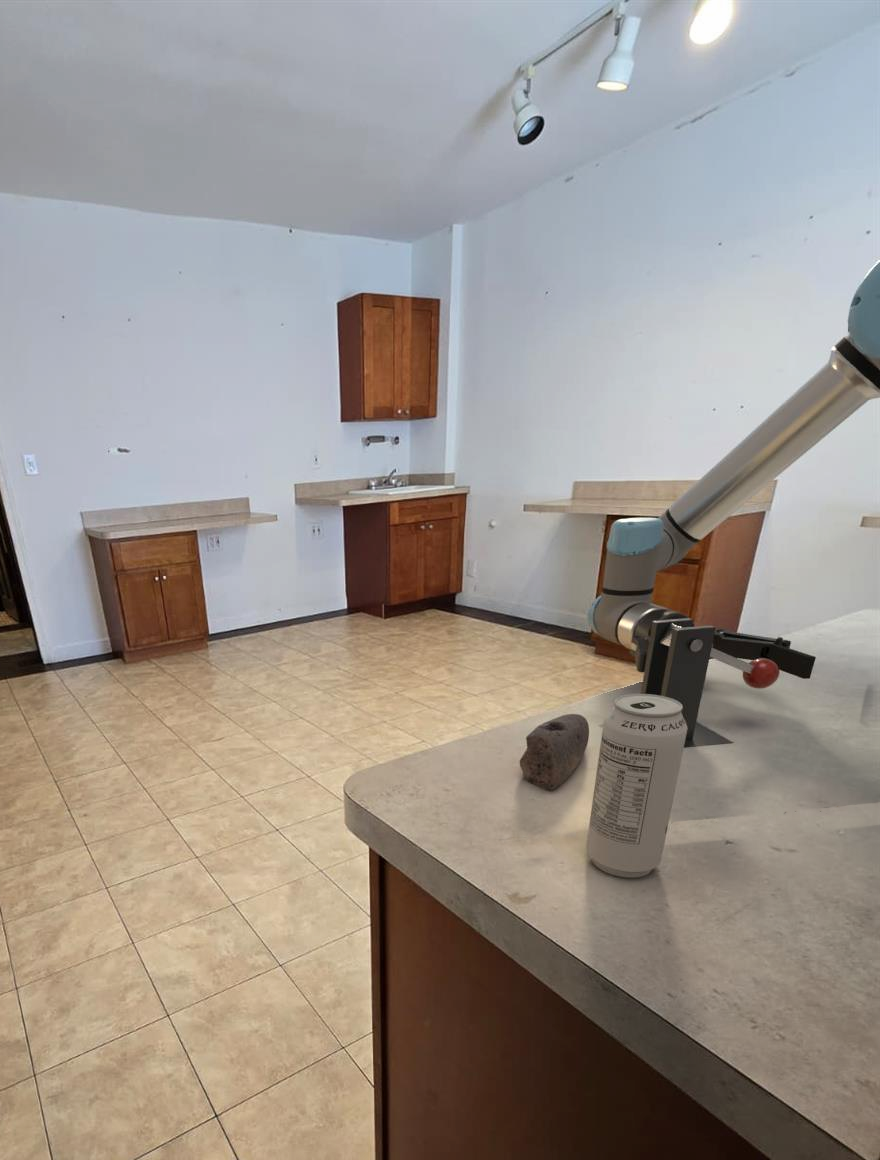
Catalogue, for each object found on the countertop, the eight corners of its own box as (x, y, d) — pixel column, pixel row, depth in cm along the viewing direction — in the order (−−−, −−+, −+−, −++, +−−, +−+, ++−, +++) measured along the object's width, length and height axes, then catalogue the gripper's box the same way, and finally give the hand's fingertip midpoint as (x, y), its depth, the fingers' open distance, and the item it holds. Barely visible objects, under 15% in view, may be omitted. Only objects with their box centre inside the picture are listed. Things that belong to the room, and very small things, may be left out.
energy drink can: (675, 872, 55) (710, 709, 49) (616, 887, 54) (645, 721, 47) (625, 838, 60) (650, 687, 54) (570, 851, 59) (590, 698, 53)
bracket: (685, 725, 84) (708, 612, 77) (732, 752, 75) (762, 628, 69) (596, 733, 83) (612, 620, 77) (633, 761, 75) (654, 637, 69)
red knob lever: (752, 687, 79) (770, 660, 78) (773, 696, 76) (793, 669, 74) (653, 645, 76) (670, 617, 75) (671, 653, 73) (689, 623, 71)
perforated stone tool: (558, 747, 80) (564, 694, 77) (602, 756, 77) (610, 702, 74) (506, 793, 70) (511, 735, 67) (554, 806, 67) (561, 745, 64)
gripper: (730, 650, 98) (845, 693, 79) (572, 664, 98) (650, 710, 78) (741, 601, 95) (864, 633, 76) (578, 615, 94) (660, 650, 75)
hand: (755, 672), depth 77 cm, fingers open, 13 cm apart
